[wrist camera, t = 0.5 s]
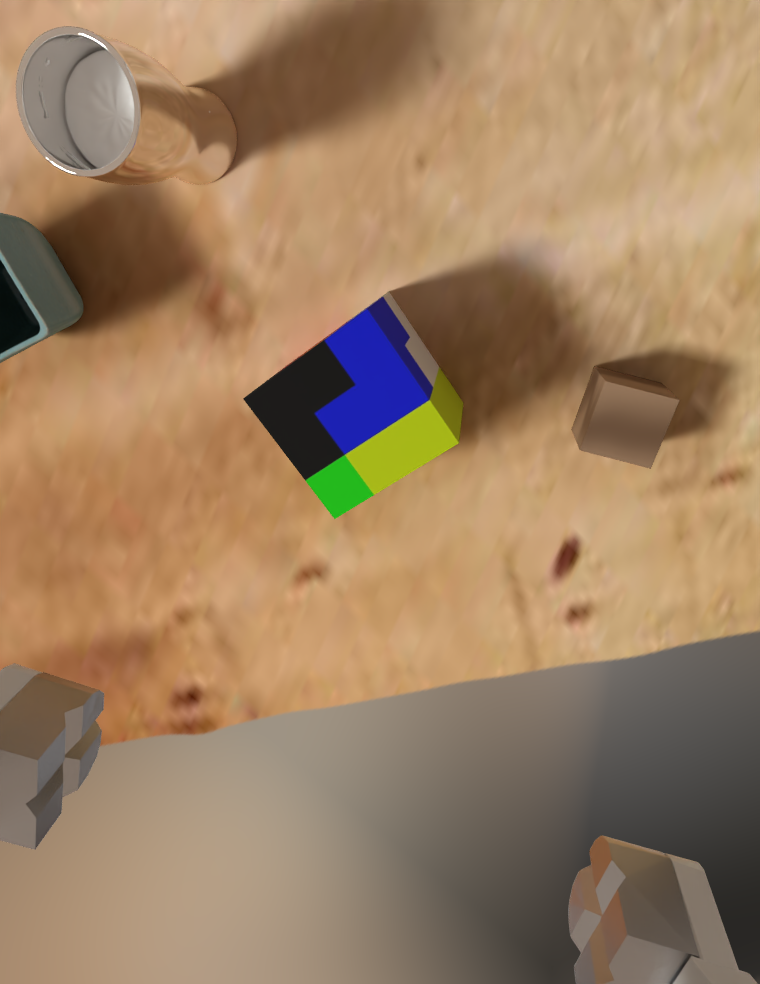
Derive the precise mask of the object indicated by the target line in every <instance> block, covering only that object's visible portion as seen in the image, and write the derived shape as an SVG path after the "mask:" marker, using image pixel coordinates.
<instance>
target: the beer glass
mask: <svg viewBox="0 0 760 984" xmlns="http://www.w3.org/2000/svg"><path fill="white" fill-rule="evenodd" d="M16 99H17V106H18V111H19V115H20V118H21V121H22V124H23V126H24V129H25V131H26V133H27V135H28V137H29V138H30V140H31V142H32V143H33V145H34V146H35V147H36V149H37V150H38V151H39V152H40V153H41V154H42V155H43V157H45V158H46V159H47V160H48V161H49V162H50V163H51V164H53V165H54V166H56V167H57V168H59V169H61V170H63V171H65V172H67V173H69V174H72V175H76V176H81V177H87V178H91V179H95V180H99V181H103V182H107V183H114V184H120V185H146V184H151V183H156V182H160V181H164V180H166V179H169V178H172V177H176V178H178V179H179V180H181V181H183V182H186V183H190V184H196V185H202V184H208V183H211V182H213V181H215V180H217V179H219V178H220V177H221V176H222V175H224V174H225V172H226V171H227V170H228V169H229V167H230V166H231V164H232V162H233V159H234V156H235V153H236V147H237V133H236V128H235V124H234V121H233V118H232V116H231V114H230V112H229V110H228V109H227V107H226V106H225V104H224V103H223V102H222V101H221V100H220V99H219V98H218V97H217V96H216V95H214V94H213V93H211V92H210V91H208V90H206V89H203V88H199V87H191V86H188V87H185V86H184V85H183V84H182V83H181V82H180V81H179V80H178V79H177V78H176V77H175V76H174V75H173V74H172V73H171V72H170V71H169V70H168V69H167V68H166V67H164V66H163V65H162V64H161V63H160V62H158V61H157V60H156V59H154V58H153V57H151V56H150V55H148V54H146V53H145V52H143V51H141V50H139V49H137V48H136V47H134V46H131V45H129V44H126V43H124V42H121V41H119V40H116V39H113V38H110V37H107V36H104V35H100V34H96V33H94V32H91V31H89V30H86V29H83V28H79V27H71V26H66V27H58V28H54V29H51V30H49V31H47V32H45V33H43V34H42V35H40V36H39V37H38V38H36V39H35V40H34V41H33V42H32V43H31V45H30V46H29V47H28V49H27V50H26V52H25V54H24V56H23V58H22V60H21V63H20V66H19V69H18V73H17V80H16Z"/></svg>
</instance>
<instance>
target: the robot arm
mask: <svg viewBox="0 0 760 984" xmlns="http://www.w3.org/2000/svg"><path fill="white" fill-rule="evenodd" d="M103 707H104V693H103V692H101V691H100V690H98V689H95V688H92V687H88V686H85V685H82V684H79V683H76V682H73V681H70V680H66V679H63V678H60V677H57V676H54V675H51V674H48V673H45V672H43V673H42V672H39V671H36V670H33V669H30V668H27V667H24V666H21V665H18V664H12V665H9V666H7V667H5V668H3V669H2V670H1V671H0V840H2V841H5V842H9V843H12V844H16V845H20V846H23V847H27V848H31V849H36V847H37V846H38V845H39V843H40V842H41V841H42V839H43V838H44V837H45V835H46V834H47V832H48V831H49V829H50V828H51V827H52V825H53V824H54V823H55V821H56V820H57V818H58V817H59V816H60V814H61V810H62V797H64V796H66V795H68V794H70V793H72V792H74V791H76V790H78V789H79V787H80V786H81V784H82V783H83V781H84V780H85V779H86V777H87V776H88V774H89V772H90V770H91V767H92V765H93V763H94V761H95V759H96V757H97V754H98V750H99V746H100V742H101V733H102V730H101V729H100V727H99V725H98V724H97V722H96V718H97V717H98V716H99V715H100V713H101V712H102V711H103ZM589 852H590V858H591V865H590V866H588V867H586V868H584V869H582V870H580V871H579V873H578V875H577V877H576V879H575V881H574V883H573V886H572V891H571V896H570V901H569V928H570V936H571V938H572V939H573V941H574V942H575V944H576V945H577V947H578V949H579V950H580V952H581V955H580V957H579V958H578V960H577V962H576V964H575V966H574V970H575V978H576V984H757V982H756V981H755V980H754V979H753V978H752V977H751V976H750V974H749V973H746V972H743V971H740V970H739V969H738V967H737V964H736V961H735V958H734V955H733V952H732V950H731V946H730V944H729V941H728V938H727V935H726V932H725V929H724V926H723V924H722V921H721V918H720V915H719V912H718V909H717V906H716V903H715V900H714V898H713V895H712V892H711V889H710V886H709V884H708V880H707V877H706V874H705V872H704V870H703V868H702V867H701V865H700V864H699V863H698V862H695V861H691V860H688V859H684V858H680V857H676V856H673V855H669V854H666V853H665V854H663V853H662V852H659V851H656V850H652V849H648V848H645V847H641V846H638V845H634V844H630V843H627V842H623V841H619V840H616V839H613V838H609V837H605V836H600V837H599V838H598V839H596V840H595V842H594V844H593V846H592V848H591V849H590V851H589Z"/></svg>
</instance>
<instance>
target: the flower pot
mask: <svg viewBox="0 0 760 984" xmlns="http://www.w3.org/2000/svg"><path fill="white" fill-rule="evenodd" d="M82 314H83V301H82V298H81V296H80V294H79V293H78V291H77V289H76V288H75V286H74V284H73V282H72V281H71V279H70V277H69V276H68V274H67V272H66V271H65V269H64V267H63V265H62V264H61V262H60V260H59V258H58V257H57V255H56V253H55V251H54V250H53V248H52V246H51V245H50V243H49V242H48V241H47V240H46V238H45V237H44V236H43V235H42V233H41V232H40V231H39V230H38V229H36V228H35V227H34V226H33V225H32V224H30V223H29V222H27V221H25V220H23V219H21V218H19V217H16V216H12V215H8V214H3V213H0V363H1V362H3V361H5V360H7V359H8V358H10V357H12V356H14V355H16V354H18V353H20V352H22V351H24V350H25V349H27V348H29V347H31V346H33V345H35V344H36V343H38V342H40V341H42V340H44V339H46V338H48V337H50V336H52V335H54V334H55V333H57V332H59V331H61V330H63V329H65V328H67V327H69V326H71V325H73V324H74V323H75V322H77V321H78V320H79V319H80V318H81V316H82Z"/></svg>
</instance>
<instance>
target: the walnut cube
mask: <svg viewBox="0 0 760 984" xmlns="http://www.w3.org/2000/svg"><path fill="white" fill-rule="evenodd" d="M678 403H679V399H678V398H677V397H676V396H675V395H674V394H673V393H671V392H670V391H669V390H668V389H667V388H666V387H665V386H664V385H663V384H662V383H659V382H655V381H651V380H647V379H643V378H639V377H635V376H631V375H627V374H624V373H620V372H616V371H612V370H608V369H604V368H600V367H596V366H594V368H593V371H592V374H591V377H590V380H589V382H588V385H587V388H586V391H585V393H584V396H583V399H582V402H581V405H580V407H579V410H578V413H577V416H576V419H575V421H574V424H573V427H572V432H573V434H574V437H575V439H576V442H577V444H578V447H579V449H580V450H581V451H585V452H589V453H593V454H597V455H600V456H604V457H608V458H612V459H616V460H620V461H623V462H627V463H631V464H635V465H639V466H643V467H647V468H650V469H651V467H652V465H653V462H654V460H655V457H656V455H657V453H658V450H659V448H660V446H661V443H662V441H663V438H664V436H665V434H666V431H667V429H668V427H669V424H670V422H671V419H672V417H673V415H674V412H675V410H676V407H677V405H678Z"/></svg>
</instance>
